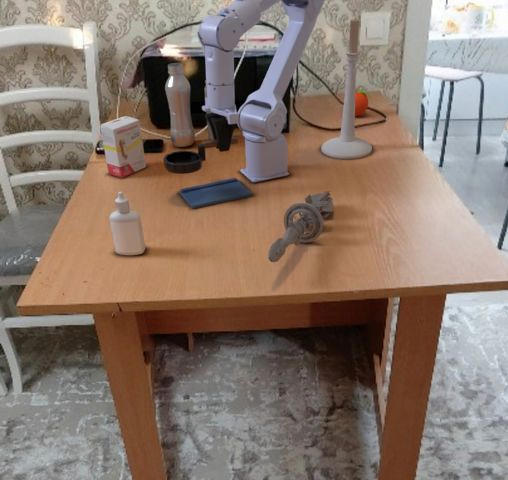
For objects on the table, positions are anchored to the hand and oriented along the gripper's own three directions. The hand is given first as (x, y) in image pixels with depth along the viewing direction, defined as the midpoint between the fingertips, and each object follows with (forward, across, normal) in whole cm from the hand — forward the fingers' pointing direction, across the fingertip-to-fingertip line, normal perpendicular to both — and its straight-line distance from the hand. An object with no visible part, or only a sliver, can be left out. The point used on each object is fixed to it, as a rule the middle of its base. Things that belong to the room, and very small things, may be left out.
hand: (222, 149), depth 129 cm
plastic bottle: (+9, -32, +1) cm, 34 cm away
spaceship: (+10, +29, +5) cm, 31 cm away
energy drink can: (+9, -32, +11) cm, 35 cm away
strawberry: (+7, -31, +54) cm, 63 cm away
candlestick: (+8, -9, +37) cm, 39 cm away
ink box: (+10, -22, -17) cm, 30 cm away
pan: (+3, 0, -5) cm, 5 cm away
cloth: (+10, +1, -2) cm, 10 cm away
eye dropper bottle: (+11, +18, -26) cm, 34 cm away
